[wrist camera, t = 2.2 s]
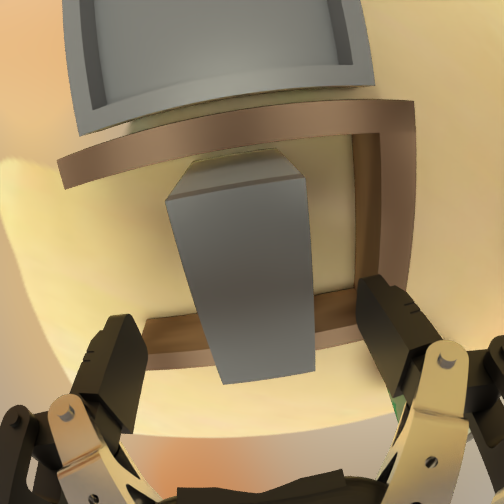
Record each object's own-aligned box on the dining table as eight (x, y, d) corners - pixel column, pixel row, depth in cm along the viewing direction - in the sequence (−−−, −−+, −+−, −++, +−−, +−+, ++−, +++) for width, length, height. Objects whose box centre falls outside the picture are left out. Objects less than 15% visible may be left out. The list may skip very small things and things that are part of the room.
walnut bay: (380, 99, 14) (413, 100, 11) (378, 299, 20) (398, 330, 17) (88, 147, 14) (56, 160, 11) (153, 334, 20) (144, 370, 17)
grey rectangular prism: (275, 147, 15) (305, 177, 9) (291, 288, 19) (315, 370, 13) (193, 161, 15) (164, 201, 9) (224, 299, 19) (223, 384, 13)
